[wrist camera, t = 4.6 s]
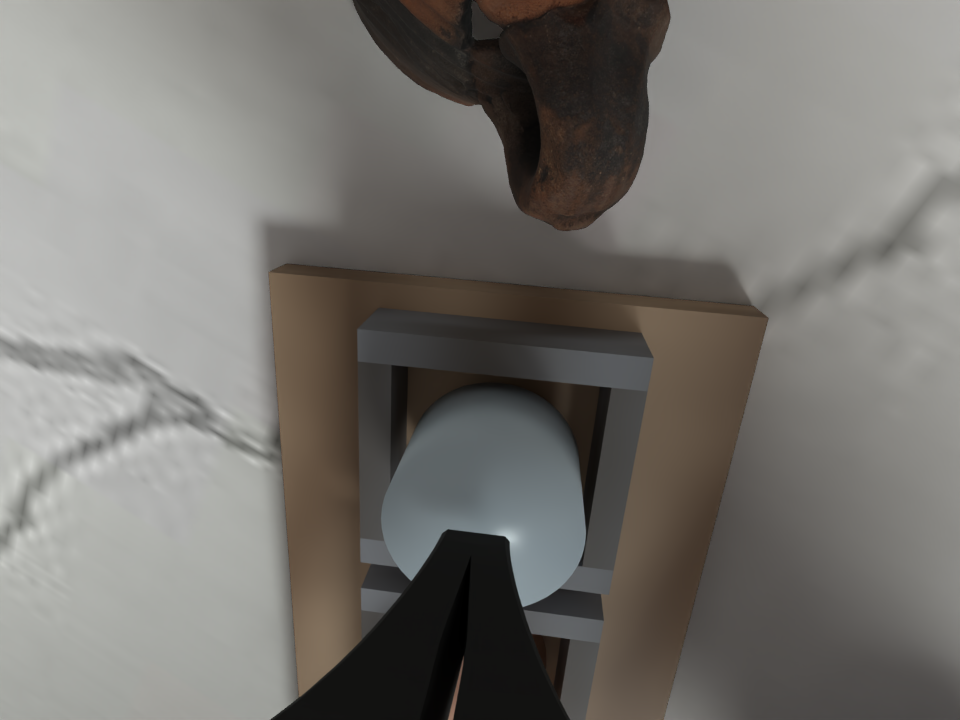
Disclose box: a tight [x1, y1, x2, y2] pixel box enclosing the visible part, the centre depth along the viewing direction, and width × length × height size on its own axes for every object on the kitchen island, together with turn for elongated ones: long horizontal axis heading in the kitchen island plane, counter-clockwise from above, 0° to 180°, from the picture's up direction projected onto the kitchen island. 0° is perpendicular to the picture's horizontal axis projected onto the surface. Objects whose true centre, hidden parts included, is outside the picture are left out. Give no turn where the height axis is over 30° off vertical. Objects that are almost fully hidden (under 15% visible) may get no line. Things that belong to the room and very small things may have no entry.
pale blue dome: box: [381, 382, 586, 607], centre depth 15 cm, size 5×5×3 cm
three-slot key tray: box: [269, 264, 768, 720], centre depth 20 cm, size 14×26×3 cm, turn 176°
